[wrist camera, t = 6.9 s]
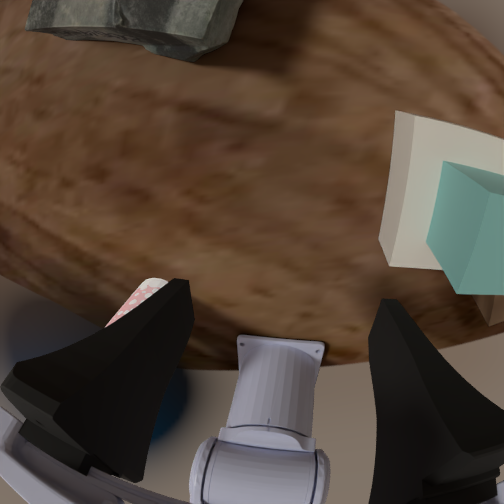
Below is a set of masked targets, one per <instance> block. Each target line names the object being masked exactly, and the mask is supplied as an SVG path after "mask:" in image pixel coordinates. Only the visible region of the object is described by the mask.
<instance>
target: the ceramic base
mask: <svg viewBox="0 0 504 504" xmlns="http://www.w3.org/2000/svg"><path fill="white" fill-rule="evenodd" d="M443 161H448V162H453V163H457V164H462V165H466V166H470V167H474V168H478V169H482V170H486V171H490V172H493V173H497V174H501V175H504V139H503V138H500V137H497V136H495V135H492V134H489V133H485V132H482V131H479V130H476V129H473V128H469V127H466V126H462V125H459V124H455V123H451V122H447V121H443V120H439V119H435V118H431V117H426V116H422V115H417V114H412V113H407V112H402V111H396V113H395V126H394V138H393V148H392V157H391V165H390V173H389V180H388V187H387V194H386V200H385V206H384V212H383V218H382V223H381V228H380V234H379V242H380V244H381V246H382V249H383V251H384V254H385V256H386V259H387V261H388V264H389V266H394V267H409V268H423V269H437V270H443V269H442V267H441V266H440V264H439V262H438V261H437V259H436V257H435V256H434V254H433V253H432V251H431V249H430V248H429V246H428V245H427V243H426V238H427V235H428V231H429V227H430V223H431V219H432V215H433V210H434V206H435V201H436V196H437V191H438V186H439V181H440V175H441V170H442V163H443Z"/></svg>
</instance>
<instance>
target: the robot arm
mask: <svg viewBox="0 0 504 504" xmlns="http://www.w3.org/2000/svg"><path fill="white" fill-rule="evenodd" d="M194 321H195V318H194V312H193V305H192V299H191V292H190V286H189V280H184V279H176V278H174V279H172V280H171V281H169V282H168V283H167V284H165V285H164V286H163V287H161V288H160V289H159V290H158V291H156V292H155V293H154V294H152V295H151V296H150V297H148V298H147V299H146V300H144V301H143V302H142V303H140V304H139V305H138V306H136V307H135V308H134V309H132V310H131V311H129V312H128V313H126V314H125V315H123V316H122V317H121V318H119V319H118V320H116V321H115V322H113V323H112V324H110V325H108V326H107V327H105V328H103V329H102V330H100V331H98V332H96V333H95V334H93V335H91V336H89V337H87V338H85V339H83V340H81V341H78V342H76V343H74V344H72V345H70V346H68V347H65V348H63V349H60V350H58V351H55V352H52V353H49V354H46V355H43V356H40V357H36V358H33V359H29V360H25V361H21V362H17V363H16V364H15V366H14V367H13V369H12V370H11V372H10V373H9V374H8V376H7V377H6V378H5V380H4V381H3V383H2V384H1V386H0V387H1V390H2V392H3V393H4V395H5V396H6V397H7V398H8V400H9V401H10V402H11V403H12V404H13V405H14V406H15V407H16V408H17V409H18V410H19V411H20V412H21V413H22V414H23V415H24V417H25V418H26V420H25V422H24V424H23V423H22V422H21V421H20V420H19V419H17V418H16V417H15V416H13V415H12V414H11V413H9V412H8V411H7V410H5V409H4V408H3V407H0V476H1V477H2V478H3V479H4V480H5V481H6V482H7V483H8V484H9V485H10V486H11V487H12V488H13V489H14V490H15V491H16V492H17V493H18V494H19V495H20V496H21V497H22V498H23V499H24V500H25V501H27V502H28V503H29V504H124V501H123V500H125V501H128V502H130V503H132V504H325V502H326V499H327V495H328V490H329V483H330V461H329V458H328V456H327V455H326V454H325V453H324V451H323V450H321V449H315V444H316V439H315V438H311V436H312V422H313V405H314V387H315V384H316V380H317V376H318V372H319V368H320V364H321V361H322V356H323V352H324V348H325V345H324V343H323V342H318V341H303V340H291V339H279V338H269V337H259V336H250V335H239V336H238V337H237V349H238V362H239V377H238V381H237V385H236V389H235V393H234V397H233V402H232V405H231V409H230V413H229V417H228V421H227V425H226V428H225V427H221V429H220V433H219V436H218V437H214V436H211V437H209V438H208V439H207V440H205V441H204V442H203V443H201V445H200V446H199V448H198V451H197V453H196V455H195V458H194V461H193V465H192V469H191V474H190V481H189V492H190V503H188V502H185V501H181V500H177V499H174V498H170V497H167V496H164V495H161V494H158V493H155V492H152V491H149V490H146V489H144V488H141V487H138V486H136V485H133V484H130V483H128V482H125V481H123V480H120V479H118V478H116V477H119V478H123V479H126V480H128V481H131V482H133V483H137V482H140V481H141V480H143V476H144V470H145V464H146V459H147V454H148V449H149V445H150V441H151V437H152V433H153V429H154V426H155V422H156V418H157V415H158V412H159V409H160V405H161V402H162V399H163V396H164V393H165V391H166V388H167V386H168V384H169V381H170V379H171V377H172V375H173V373H174V371H175V369H176V367H177V364H178V362H179V360H180V358H181V356H182V354H183V352H184V349H185V347H186V345H187V343H188V340H189V337H190V334H191V331H192V327H193V324H194ZM368 344H369V363H370V370H371V376H372V383H373V390H374V398H375V405H376V415H377V437H376V440H377V441H376V456H375V466H374V475H373V482H372V489H371V494H370V499H369V504H504V480H503V481H501V482H499V483H497V484H496V477H498V476H499V475H500V469H499V467H500V466H501V465H503V464H504V410H503V409H501V408H500V407H498V406H497V405H496V404H494V403H493V402H491V401H490V400H489V399H487V398H486V397H484V396H483V395H482V394H481V393H480V392H479V391H477V390H476V389H475V388H474V387H473V386H472V385H471V384H469V383H468V382H467V381H466V380H465V379H464V378H463V377H462V376H461V375H460V374H459V373H458V372H457V371H456V370H455V369H454V368H453V367H452V366H451V365H450V364H449V363H448V362H447V361H446V360H445V359H444V358H443V356H442V355H441V354H440V353H439V352H438V350H437V349H436V348H435V347H434V346H433V345H432V343H431V342H430V341H429V340H428V338H427V337H426V336H425V335H424V333H423V332H422V331H421V330H420V328H419V327H418V326H417V324H416V323H415V322H414V321H413V319H412V318H411V317H410V315H409V314H408V313H407V311H406V310H405V309H404V308H403V306H402V305H401V304H400V303H399V302H398V300H396V299H382V300H381V303H380V306H379V309H378V312H377V315H376V318H375V320H374V323H373V326H372V329H371V331H370V334H369V337H368ZM111 475H114V476H116V477H113V476H111ZM122 499H123V500H122Z"/></svg>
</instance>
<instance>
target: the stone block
mask: <svg viewBox="0 0 504 504" xmlns="http://www.w3.org/2000/svg"><path fill="white" fill-rule="evenodd" d="M242 2H243V0H33V1H32V4H31V8H30V11H29V15H28V19H27V23H26V27H25V30H26V31H33V32H42V33H49V34H53V35H54V36H58V37H60V38H63V39H66V40H108V41H118V42H124V43H132V44H138V45H143V46H144V47H145V49H147V50H149V51H150V52H152V53H154V54H157V55H162V56H167V57H171V58H175V59H179V60H184V61H189V62H195V61H196V60H198V59H199V57H200V56H202V55H203V54H205V53H209V52H211V51H213V50H215V49H217V48H219V47H221V46H223V45H224V44H226V43H227V42H228V41H229V38H230V35H231V31H232V29H233V27H234V24H235V20H236V17H237V13H238V9H239V8H240V6H241V4H242Z"/></svg>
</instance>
